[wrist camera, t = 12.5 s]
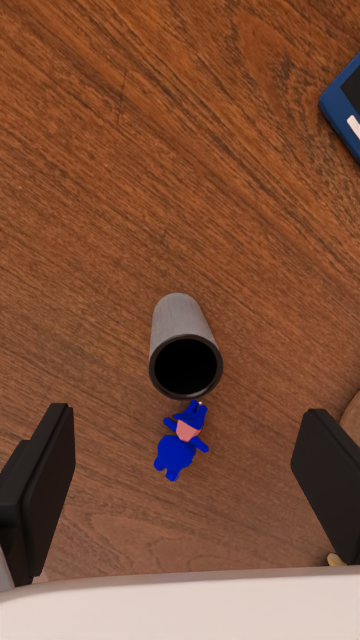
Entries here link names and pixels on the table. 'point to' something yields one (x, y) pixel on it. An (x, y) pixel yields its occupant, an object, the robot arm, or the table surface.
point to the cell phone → (345, 106)
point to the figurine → (181, 441)
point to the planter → (182, 350)
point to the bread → (352, 419)
